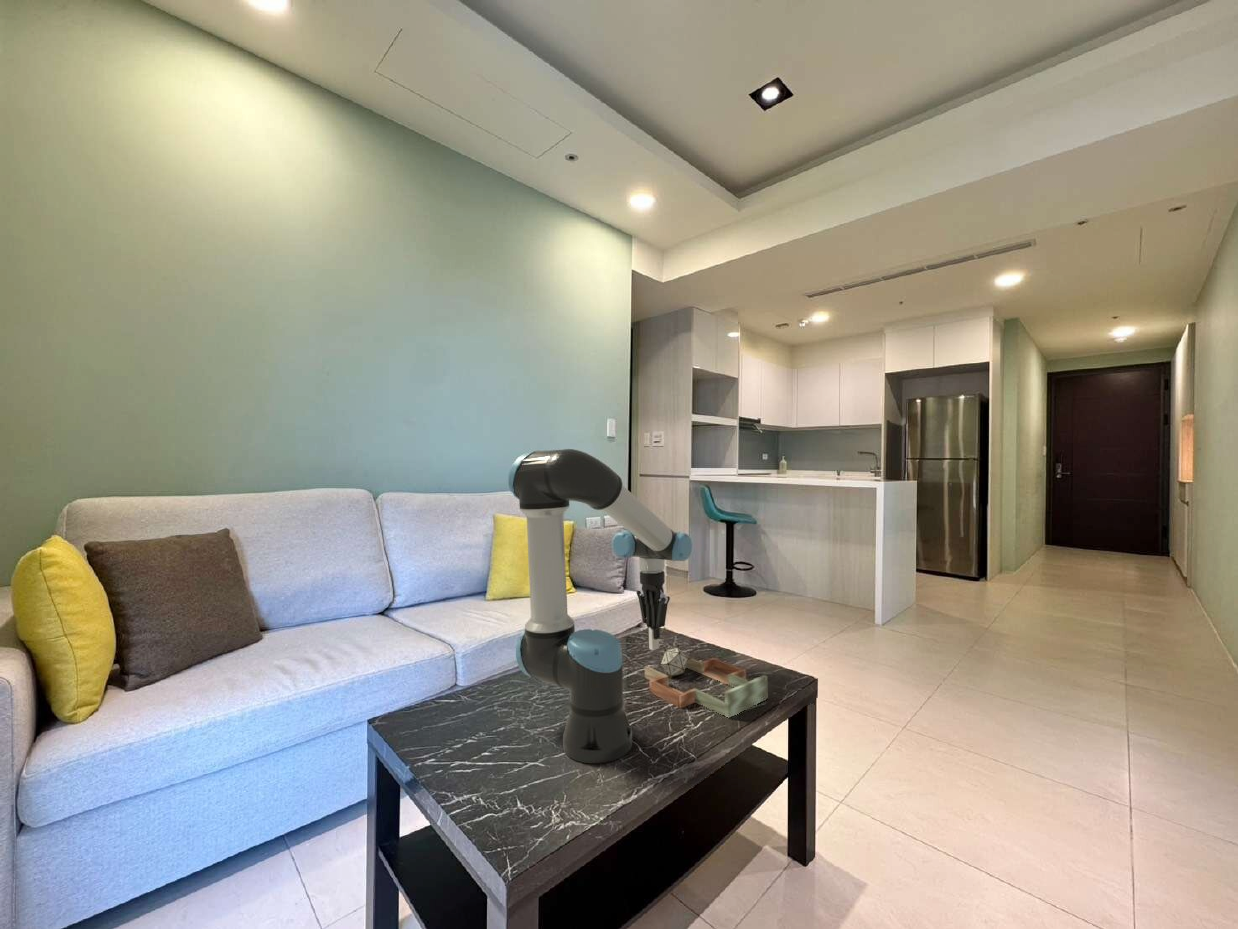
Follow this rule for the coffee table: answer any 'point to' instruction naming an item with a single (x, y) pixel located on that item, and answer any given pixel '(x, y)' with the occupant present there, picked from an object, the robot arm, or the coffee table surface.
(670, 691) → the trap box
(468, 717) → the coffee table surface
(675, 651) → the game die
